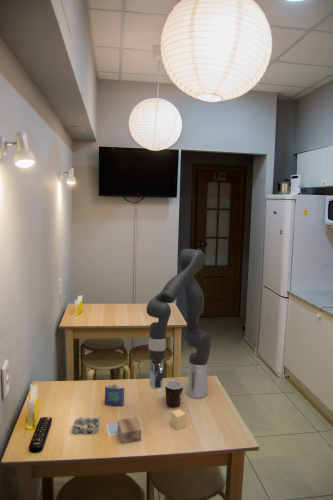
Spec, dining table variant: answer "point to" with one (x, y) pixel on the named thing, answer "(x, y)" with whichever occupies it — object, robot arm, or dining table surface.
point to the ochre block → (178, 419)
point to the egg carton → (83, 422)
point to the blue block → (152, 380)
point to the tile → (112, 429)
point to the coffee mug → (173, 393)
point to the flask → (114, 395)
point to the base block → (129, 430)
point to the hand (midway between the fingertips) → (156, 384)
